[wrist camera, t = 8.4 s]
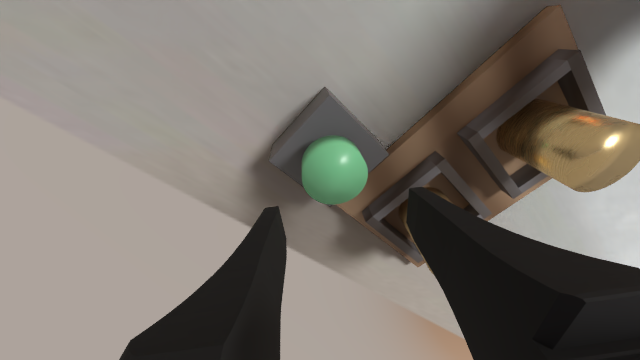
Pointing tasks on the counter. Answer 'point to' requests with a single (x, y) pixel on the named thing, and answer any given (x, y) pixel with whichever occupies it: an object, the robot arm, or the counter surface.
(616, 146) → the cylinder
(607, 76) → the counter surface
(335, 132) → the button box
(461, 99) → the wooden fixture board
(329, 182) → the button
